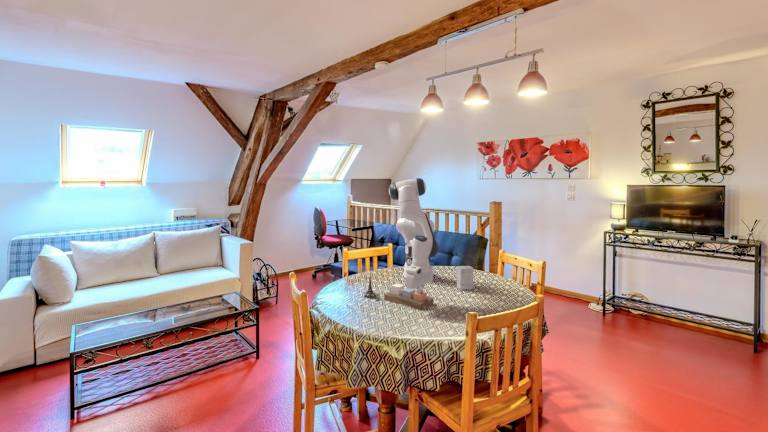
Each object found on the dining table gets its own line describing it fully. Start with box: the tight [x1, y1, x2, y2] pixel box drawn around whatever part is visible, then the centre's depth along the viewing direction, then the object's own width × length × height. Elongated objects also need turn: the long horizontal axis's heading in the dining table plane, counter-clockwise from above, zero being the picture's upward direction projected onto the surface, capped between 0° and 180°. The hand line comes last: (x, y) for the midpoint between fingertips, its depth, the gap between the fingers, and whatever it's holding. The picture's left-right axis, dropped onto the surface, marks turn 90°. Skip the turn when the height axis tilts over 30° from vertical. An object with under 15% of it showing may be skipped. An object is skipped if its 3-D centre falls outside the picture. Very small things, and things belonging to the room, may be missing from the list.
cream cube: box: [390, 283, 405, 296], centre depth 220 cm, size 5×5×5 cm
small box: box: [456, 265, 474, 291], centre depth 238 cm, size 8×6×13 cm
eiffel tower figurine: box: [362, 275, 381, 302], centre depth 222 cm, size 15×10×13 cm
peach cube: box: [413, 291, 428, 302], centre depth 210 cm, size 5×5×5 cm
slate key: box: [402, 288, 416, 299], centre depth 215 cm, size 5×5×5 cm
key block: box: [383, 291, 434, 311], centre depth 215 cm, size 12×24×3 cm, turn 50°
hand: (420, 292), depth 210 cm, fingers closed, pressing on peach cube
